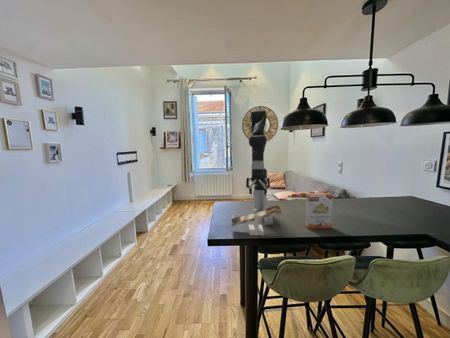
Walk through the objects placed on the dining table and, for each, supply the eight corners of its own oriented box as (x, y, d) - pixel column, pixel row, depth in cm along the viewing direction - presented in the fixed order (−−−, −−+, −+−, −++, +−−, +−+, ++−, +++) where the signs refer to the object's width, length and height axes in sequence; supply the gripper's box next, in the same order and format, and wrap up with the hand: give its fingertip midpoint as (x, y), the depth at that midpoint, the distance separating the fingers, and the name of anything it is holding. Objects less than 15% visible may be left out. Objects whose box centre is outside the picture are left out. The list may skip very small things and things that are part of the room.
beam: (232, 226, 124) (230, 219, 123) (232, 221, 133) (230, 214, 132) (282, 213, 121) (280, 206, 121) (279, 209, 130) (277, 202, 130)
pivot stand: (249, 235, 122) (249, 215, 120) (248, 226, 135) (248, 208, 133) (263, 235, 121) (263, 215, 120) (261, 226, 134) (261, 208, 133)
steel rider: (265, 224, 138) (265, 217, 137) (264, 222, 143) (264, 214, 142) (273, 224, 137) (273, 217, 137) (271, 222, 142) (271, 214, 142)
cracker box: (308, 229, 128) (309, 195, 126) (304, 225, 134) (305, 192, 132) (332, 228, 128) (333, 194, 126) (327, 225, 134) (328, 192, 132)
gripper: (270, 168, 133) (270, 194, 134) (247, 168, 137) (247, 193, 138) (269, 168, 126) (269, 196, 127) (245, 168, 130) (245, 195, 130)
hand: (257, 194), depth 132 cm, fingers open, 8 cm apart
